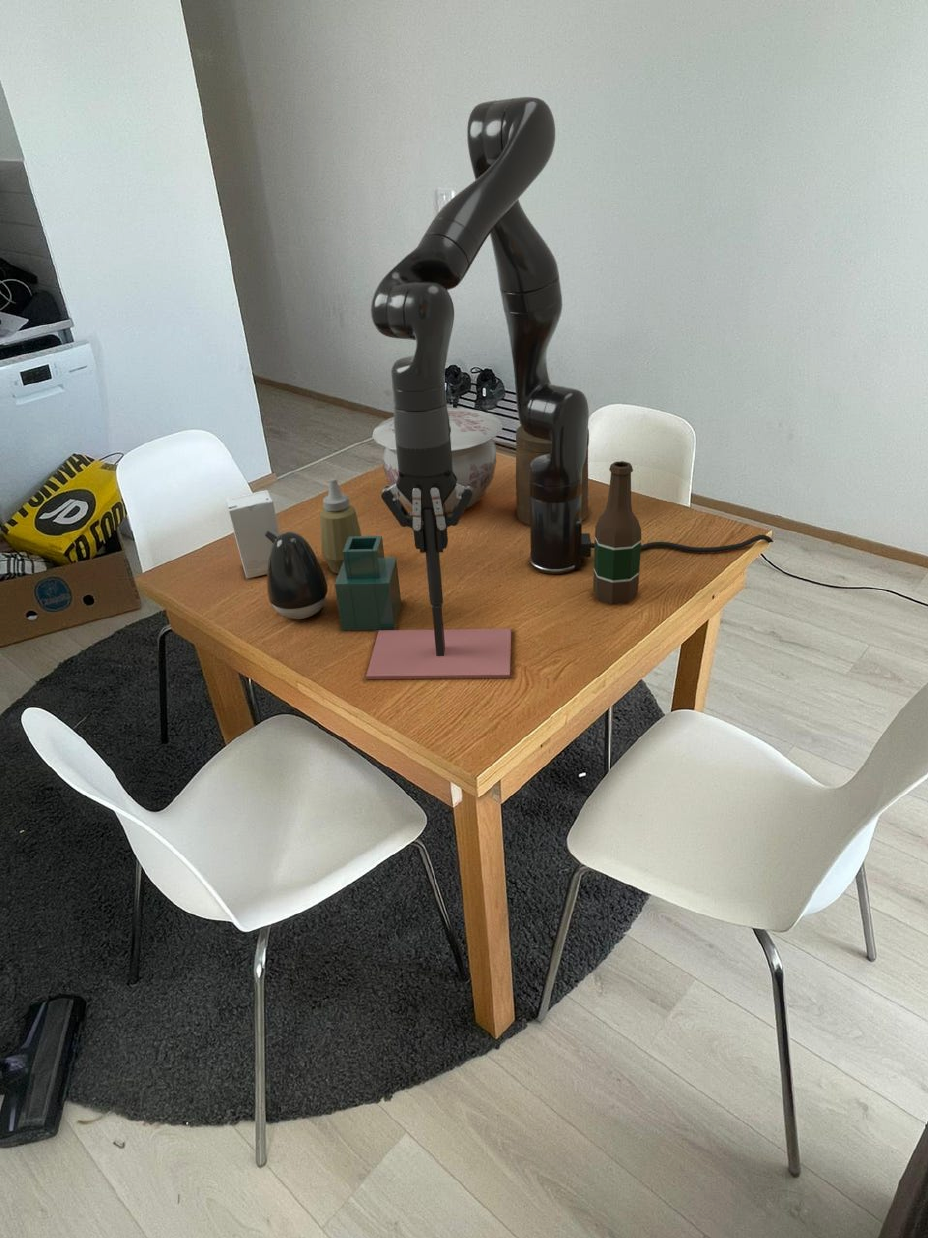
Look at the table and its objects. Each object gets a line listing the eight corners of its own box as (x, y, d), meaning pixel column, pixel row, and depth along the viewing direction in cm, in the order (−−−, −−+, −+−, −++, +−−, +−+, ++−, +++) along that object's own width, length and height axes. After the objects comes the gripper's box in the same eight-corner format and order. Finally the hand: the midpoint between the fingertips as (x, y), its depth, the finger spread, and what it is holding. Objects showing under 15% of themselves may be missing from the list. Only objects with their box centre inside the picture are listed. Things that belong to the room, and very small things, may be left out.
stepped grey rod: (447, 646, 132) (436, 502, 119) (446, 656, 130) (434, 510, 116) (435, 647, 132) (422, 503, 119) (433, 656, 130) (420, 510, 116)
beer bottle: (610, 610, 139) (616, 477, 127) (583, 591, 145) (587, 461, 133) (647, 597, 142) (656, 466, 130) (619, 579, 148) (626, 451, 136)
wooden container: (577, 496, 180) (579, 396, 169) (595, 524, 168) (599, 419, 156) (510, 503, 179) (508, 403, 168) (524, 532, 167) (522, 427, 155)
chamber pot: (447, 468, 199) (441, 382, 188) (530, 497, 181) (529, 405, 170) (354, 504, 183) (341, 413, 172) (434, 541, 166) (426, 442, 155)
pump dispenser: (300, 591, 151) (286, 515, 143) (342, 605, 146) (330, 527, 138) (259, 616, 144) (242, 538, 136) (301, 632, 139) (286, 552, 131)
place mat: (511, 631, 136) (511, 628, 135) (510, 678, 125) (509, 674, 124) (379, 633, 137) (378, 630, 137) (366, 679, 126) (366, 676, 126)
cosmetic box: (283, 558, 163) (269, 488, 155) (288, 571, 158) (274, 499, 150) (240, 567, 161) (224, 496, 153) (244, 580, 156) (228, 508, 148)
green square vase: (401, 602, 146) (393, 530, 138) (394, 629, 138) (385, 555, 131) (351, 603, 146) (340, 532, 139) (341, 630, 139) (330, 556, 131)
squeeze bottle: (359, 578, 154) (346, 488, 145) (318, 576, 156) (303, 487, 146) (372, 558, 161) (360, 471, 151) (332, 556, 162) (319, 470, 153)
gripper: (368, 447, 110) (382, 563, 119) (471, 444, 108) (477, 561, 118) (376, 429, 116) (389, 540, 125) (474, 425, 115) (480, 538, 124)
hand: (432, 549), depth 121 cm, fingers closed on stepped grey rod, 2 cm apart
